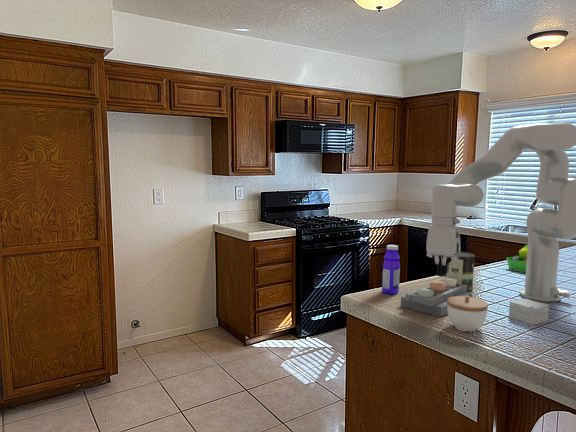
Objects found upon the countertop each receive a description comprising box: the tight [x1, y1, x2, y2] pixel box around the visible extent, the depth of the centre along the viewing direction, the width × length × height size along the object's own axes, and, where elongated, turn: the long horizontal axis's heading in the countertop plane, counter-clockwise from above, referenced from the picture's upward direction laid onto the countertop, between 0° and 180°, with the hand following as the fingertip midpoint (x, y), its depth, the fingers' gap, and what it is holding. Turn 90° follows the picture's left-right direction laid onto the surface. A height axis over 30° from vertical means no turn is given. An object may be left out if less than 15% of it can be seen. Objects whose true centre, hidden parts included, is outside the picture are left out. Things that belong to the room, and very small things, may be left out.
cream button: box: [440, 276, 457, 288], centre depth 147 cm, size 5×5×3 cm
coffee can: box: [443, 251, 476, 294], centre depth 157 cm, size 10×10×14 cm
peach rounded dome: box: [429, 280, 446, 293], centre depth 142 cm, size 5×5×3 cm
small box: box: [508, 297, 550, 326], centre depth 129 cm, size 8×8×5 cm
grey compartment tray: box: [400, 280, 473, 318], centre depth 142 cm, size 14×25×5 cm, turn 134°
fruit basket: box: [505, 244, 528, 273], centre depth 190 cm, size 11×9×11 cm
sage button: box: [416, 287, 434, 298], centre depth 136 cm, size 5×5×3 cm
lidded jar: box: [447, 296, 489, 332], centre depth 121 cm, size 11×11×9 cm
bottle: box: [381, 244, 401, 295], centre depth 154 cm, size 7×6×17 cm
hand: (441, 275), depth 142 cm, fingers closed
